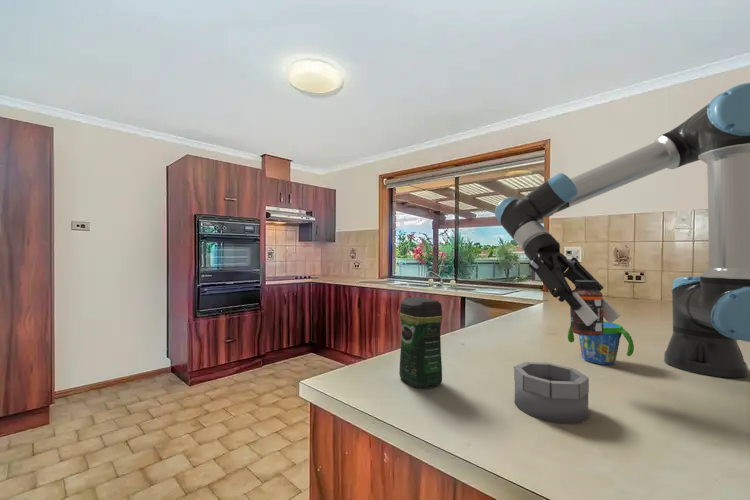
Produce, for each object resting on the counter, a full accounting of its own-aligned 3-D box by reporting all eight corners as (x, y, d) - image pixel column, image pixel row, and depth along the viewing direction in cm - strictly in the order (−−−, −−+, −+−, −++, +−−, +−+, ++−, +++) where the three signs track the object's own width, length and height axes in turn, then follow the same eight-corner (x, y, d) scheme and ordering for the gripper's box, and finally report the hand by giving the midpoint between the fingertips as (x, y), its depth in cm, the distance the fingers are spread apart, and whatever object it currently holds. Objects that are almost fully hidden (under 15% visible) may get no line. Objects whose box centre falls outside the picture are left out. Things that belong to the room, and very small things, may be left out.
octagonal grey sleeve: (566, 395, 67) (566, 362, 67) (603, 425, 55) (603, 385, 55) (505, 393, 68) (506, 361, 68) (529, 422, 56) (529, 383, 56)
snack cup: (643, 367, 85) (643, 327, 85) (616, 373, 81) (616, 330, 81) (583, 351, 99) (583, 317, 99) (558, 355, 95) (558, 319, 95)
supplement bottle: (609, 337, 68) (608, 281, 68) (577, 336, 69) (575, 281, 69) (596, 331, 73) (594, 279, 74) (566, 330, 75) (565, 279, 75)
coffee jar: (448, 385, 72) (449, 299, 72) (418, 392, 68) (418, 301, 68) (422, 371, 80) (422, 294, 81) (393, 376, 77) (394, 295, 77)
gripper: (555, 254, 89) (621, 327, 74) (499, 254, 82) (558, 335, 67) (573, 232, 84) (647, 306, 69) (515, 231, 78) (583, 312, 62)
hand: (603, 320), depth 68 cm, fingers closed on supplement bottle, 6 cm apart
